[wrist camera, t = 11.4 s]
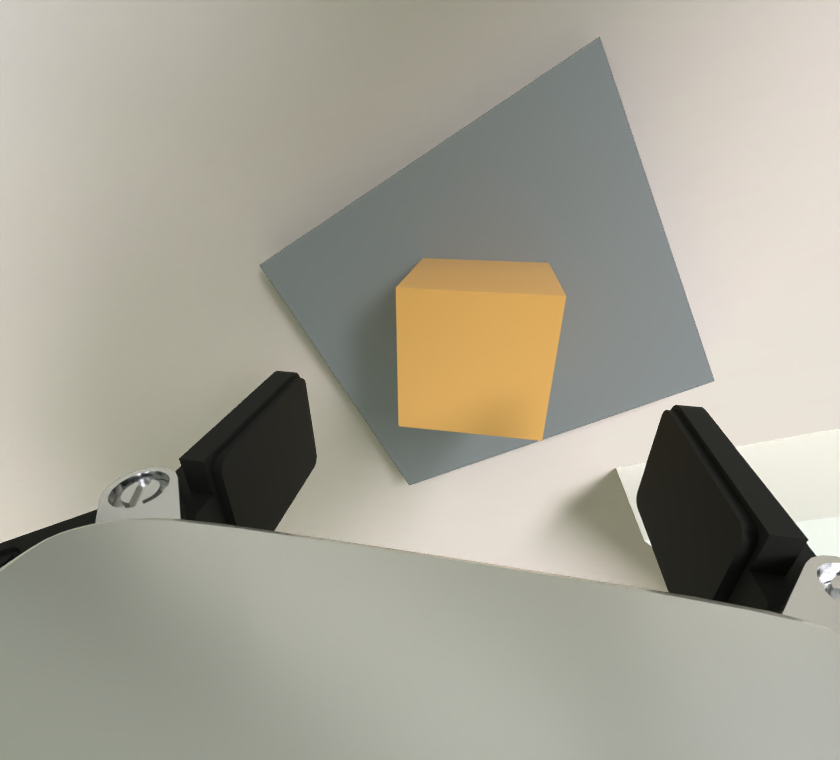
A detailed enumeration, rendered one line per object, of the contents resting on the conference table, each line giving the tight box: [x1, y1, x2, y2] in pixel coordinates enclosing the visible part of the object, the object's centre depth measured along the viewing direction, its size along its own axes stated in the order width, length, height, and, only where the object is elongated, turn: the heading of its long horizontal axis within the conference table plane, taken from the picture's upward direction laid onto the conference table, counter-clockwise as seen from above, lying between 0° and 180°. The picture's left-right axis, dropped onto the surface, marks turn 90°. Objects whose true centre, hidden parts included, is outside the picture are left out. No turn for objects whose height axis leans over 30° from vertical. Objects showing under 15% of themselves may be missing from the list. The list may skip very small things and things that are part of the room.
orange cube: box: [396, 258, 566, 441], centre depth 19 cm, size 6×6×6 cm
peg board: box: [260, 37, 714, 485], centre depth 20 cm, size 16×18×6 cm
